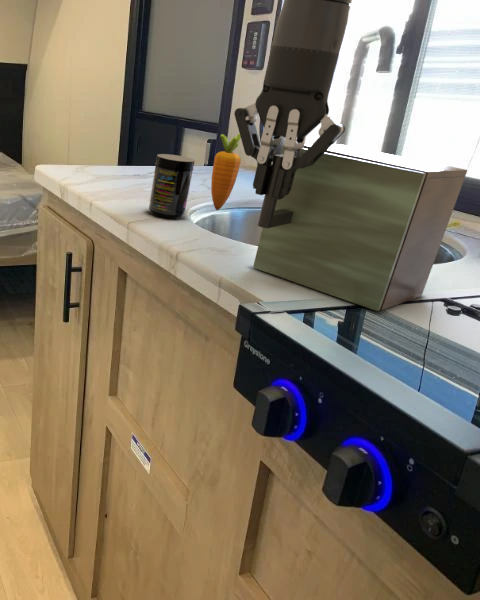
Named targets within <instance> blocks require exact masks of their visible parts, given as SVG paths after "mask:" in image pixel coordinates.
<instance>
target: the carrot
mask: <svg viewBox="0 0 480 600" xmlns="http://www.w3.org/2000/svg"><path fill="white" fill-rule="evenodd" d="M220 139H221V142H222V146H223V149H224V151H222V150H221V151H218V152H217V153H216V154H215V156H214V161H213V166H212V173H211V181H210V182H211V185H210V187H211V200H212V203H213V207H214V209H215V210H216V211H219V210H221V209H222V207H223V206H224V205H225V204H226V202H227V201H228V199H229V198H230V195H231V193H232V192H233V189H234V186H235V184H236V181H237V177H238V174H239V170H240V166H241V161H242V159H241V157H240V155H239V154H238V153H236V152H234V151H235V150H236V149H237V148H238V147H239V145H240V144H238V143H240V140H241V136H240V133H237V136H233V138H232V139H231V140H230V141H229V140H228V137H227V136H226V135H225V134H223V133H221V134H220Z"/></svg>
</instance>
